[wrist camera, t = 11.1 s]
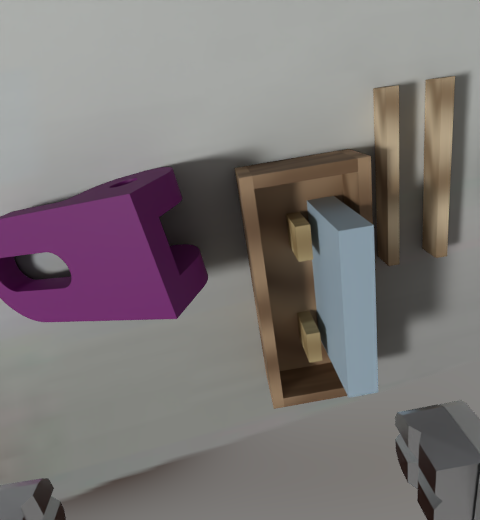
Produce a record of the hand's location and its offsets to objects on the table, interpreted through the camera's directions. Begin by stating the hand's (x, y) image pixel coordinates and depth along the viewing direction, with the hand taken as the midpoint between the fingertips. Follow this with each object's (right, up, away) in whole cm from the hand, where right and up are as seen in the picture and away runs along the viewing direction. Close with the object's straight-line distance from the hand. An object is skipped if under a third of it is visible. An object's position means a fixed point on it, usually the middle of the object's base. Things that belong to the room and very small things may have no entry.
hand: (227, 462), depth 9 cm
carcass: (+6, +3, +29) cm, 30 cm away
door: (+8, +4, +28) cm, 30 cm away
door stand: (+15, +12, +27) cm, 33 cm away
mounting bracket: (-13, +6, +27) cm, 31 cm away
